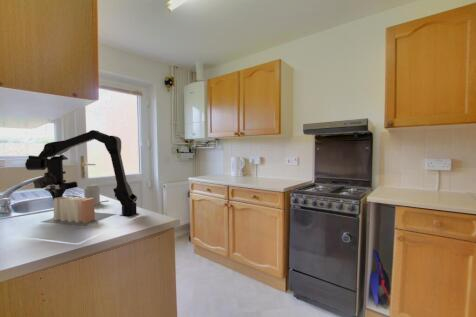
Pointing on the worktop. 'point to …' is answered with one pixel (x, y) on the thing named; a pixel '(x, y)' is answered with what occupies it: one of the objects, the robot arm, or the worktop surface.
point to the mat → (97, 218)
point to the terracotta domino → (88, 210)
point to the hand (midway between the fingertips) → (57, 203)
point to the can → (92, 193)
